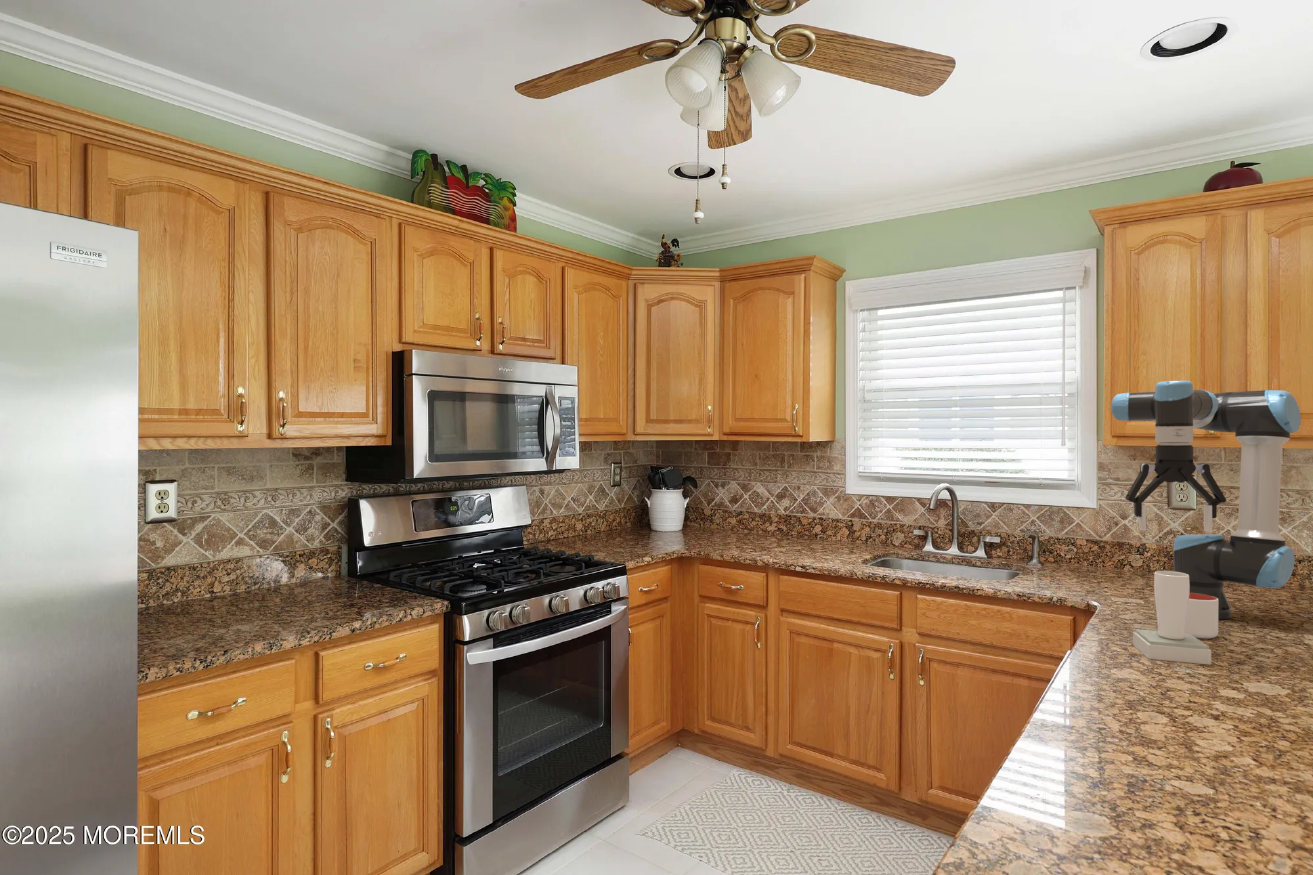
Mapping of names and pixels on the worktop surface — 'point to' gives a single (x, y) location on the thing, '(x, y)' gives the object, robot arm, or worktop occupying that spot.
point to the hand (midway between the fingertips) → (1174, 531)
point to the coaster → (1171, 647)
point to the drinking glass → (1171, 603)
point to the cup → (1202, 616)
